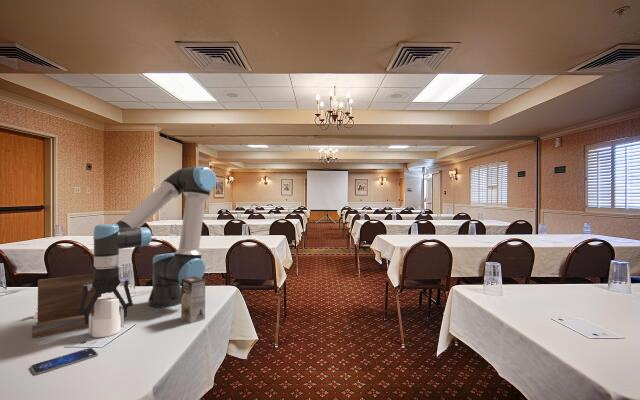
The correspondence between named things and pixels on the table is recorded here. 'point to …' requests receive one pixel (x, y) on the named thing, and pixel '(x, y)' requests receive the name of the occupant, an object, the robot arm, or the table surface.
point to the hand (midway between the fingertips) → (106, 329)
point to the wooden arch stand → (62, 304)
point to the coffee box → (193, 299)
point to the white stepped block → (106, 317)
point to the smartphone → (63, 361)
